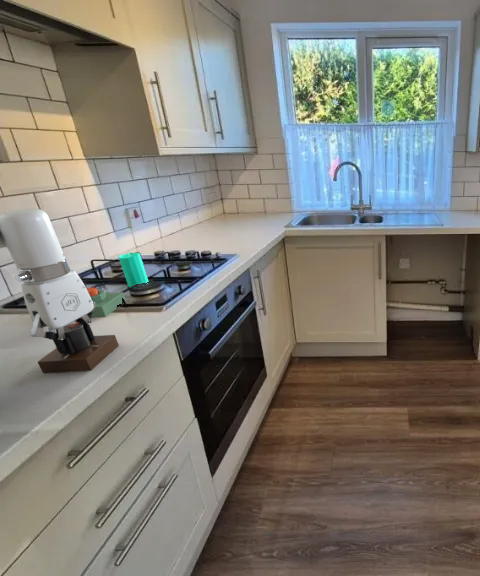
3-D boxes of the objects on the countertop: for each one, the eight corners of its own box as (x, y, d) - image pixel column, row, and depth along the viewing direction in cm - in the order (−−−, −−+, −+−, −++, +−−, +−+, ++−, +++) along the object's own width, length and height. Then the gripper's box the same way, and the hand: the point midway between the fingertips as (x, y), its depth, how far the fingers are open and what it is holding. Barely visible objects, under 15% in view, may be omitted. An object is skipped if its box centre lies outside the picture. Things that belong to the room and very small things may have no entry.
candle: (152, 282, 124) (141, 249, 119) (133, 289, 119) (121, 254, 114) (143, 279, 127) (133, 246, 122) (125, 285, 122) (113, 251, 117)
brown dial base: (42, 373, 78) (36, 361, 76) (76, 347, 87) (71, 336, 85) (91, 370, 78) (85, 358, 77) (119, 345, 87) (114, 334, 86)
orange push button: (77, 298, 102) (75, 293, 101) (87, 293, 105) (85, 287, 105) (92, 298, 102) (90, 292, 101) (101, 292, 106) (99, 286, 105)
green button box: (61, 319, 101) (54, 303, 99) (85, 303, 110) (80, 288, 108) (105, 316, 101) (99, 300, 99) (126, 301, 110) (121, 286, 108)
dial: (78, 353, 79) (69, 332, 77) (60, 352, 79) (50, 331, 77) (95, 342, 83) (87, 322, 81) (78, 341, 83) (69, 321, 81)
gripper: (18, 288, 66) (57, 370, 73) (96, 257, 81) (122, 328, 88) (-17, 287, 67) (25, 368, 74) (67, 257, 82) (95, 327, 89)
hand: (78, 346), depth 81 cm, fingers closed on dial, 4 cm apart
